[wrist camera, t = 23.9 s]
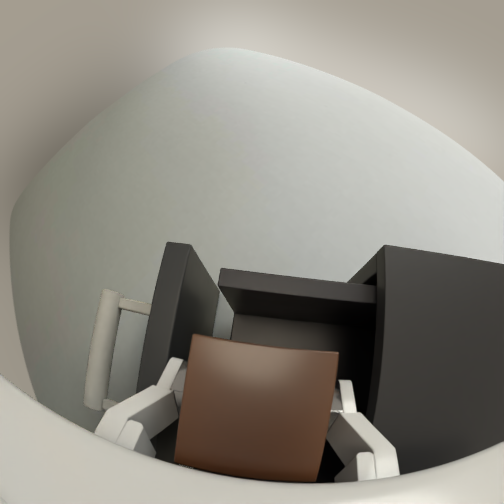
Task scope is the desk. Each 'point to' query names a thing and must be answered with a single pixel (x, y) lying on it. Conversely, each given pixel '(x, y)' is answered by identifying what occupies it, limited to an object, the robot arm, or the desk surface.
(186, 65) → the desk surface
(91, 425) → the desk surface
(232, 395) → the walnut block
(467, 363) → the drawer cabinet
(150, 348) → the drawer
